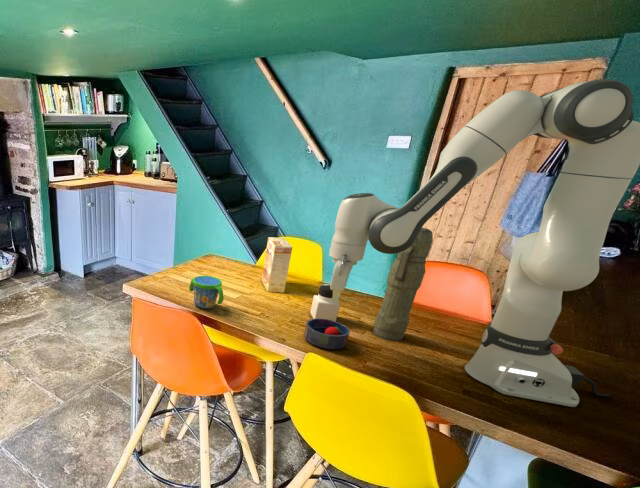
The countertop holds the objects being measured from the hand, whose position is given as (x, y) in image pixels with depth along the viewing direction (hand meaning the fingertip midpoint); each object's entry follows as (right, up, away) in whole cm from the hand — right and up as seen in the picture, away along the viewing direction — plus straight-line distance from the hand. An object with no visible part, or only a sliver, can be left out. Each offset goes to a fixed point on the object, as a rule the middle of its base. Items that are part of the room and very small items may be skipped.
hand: (336, 296), depth 120 cm
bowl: (-1, -14, +6) cm, 15 cm away
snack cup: (-34, -3, +30) cm, 46 cm away
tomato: (-1, -13, +6) cm, 14 cm away
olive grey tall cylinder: (+23, -13, +12) cm, 28 cm away
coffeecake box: (-1, +5, +52) cm, 52 cm away
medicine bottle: (+7, -7, +23) cm, 25 cm away
